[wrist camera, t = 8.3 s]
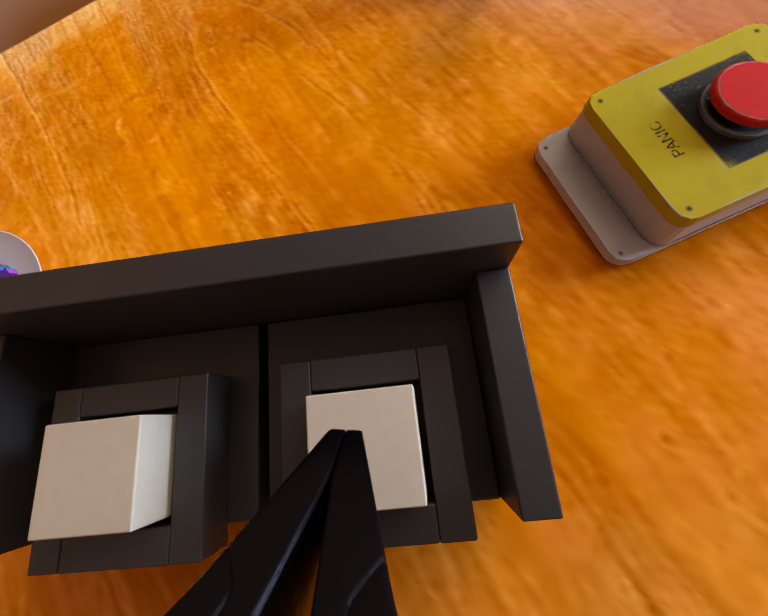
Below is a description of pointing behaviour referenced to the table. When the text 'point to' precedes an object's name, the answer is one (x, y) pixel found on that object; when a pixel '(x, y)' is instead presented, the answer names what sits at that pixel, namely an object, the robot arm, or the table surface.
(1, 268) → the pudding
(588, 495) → the table surface
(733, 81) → the emergency button
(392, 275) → the black hollow block
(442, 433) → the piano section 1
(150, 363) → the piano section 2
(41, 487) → the key
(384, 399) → the key
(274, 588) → the robot arm
